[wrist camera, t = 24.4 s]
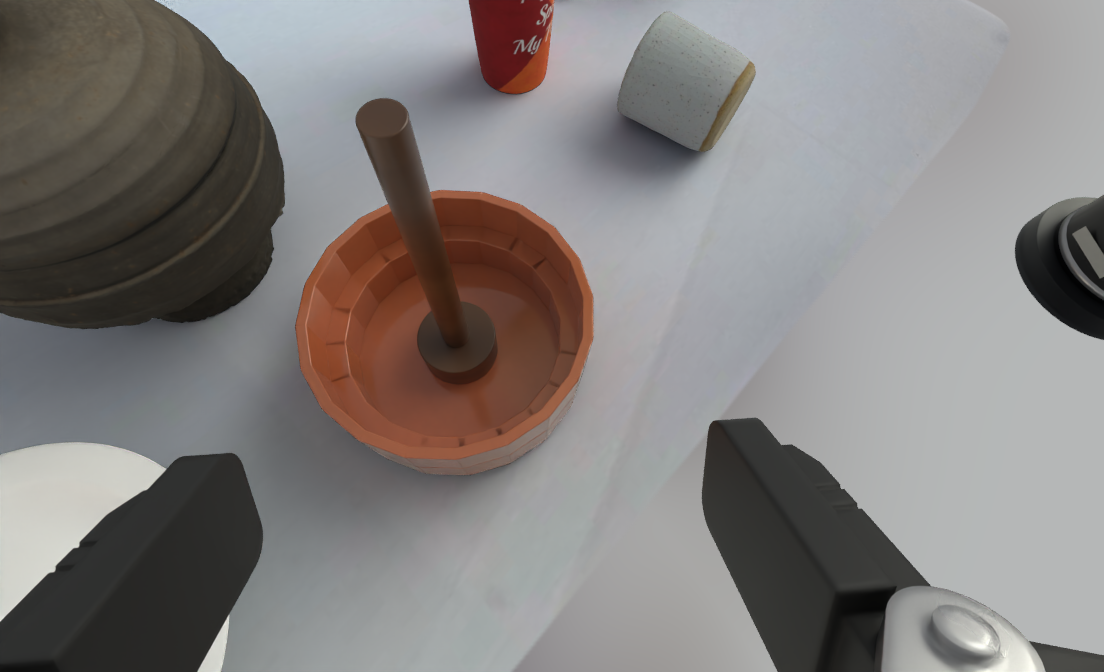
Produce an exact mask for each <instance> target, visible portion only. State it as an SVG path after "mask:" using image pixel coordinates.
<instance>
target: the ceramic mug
mask: <svg viewBox="0 0 1104 672" xmlns="http://www.w3.org/2000/svg"><path fill="white" fill-rule="evenodd" d="M755 73H756V71H755V66H754V64H753V63H752V62H751V61H750V60H749V59H748V58H747V57H746V56H744V55H743V54H742V53H741V52H739V51H738V50H736V49H735V48H733V47H731V46H729V45H727V44H725V43H723V42H722V41H720V40H718V39H716V38H714V37H712V36H711V35H709V34H707V33H706V32H704V31H702V30H701V29H699V28H698V27H696V26H694V25H693V24H691V23H689V22H687V21H686V20H684V19H682V18H681V17H679V16H677V15H675V14H674V13H672V12H664V13H662V14H661V15H660V16H659V17H658V18H657V19H656V20H655V21H654V22H653V24H652V25H651V26H650V28H649V29H648V31H647V32H646V33H645V35H644V36H643V38H642V40H641V41H640V43H639V45H638V46H637V48H636V50H635V52H634V55H633V58H632V60H631V62H630V63H629V66H628V68H627V70H626V73H625V76H624V79H623V82H622V85H621V89H620V92H619V97H618V103H617V107H618V111H619V112H620V113H621V114H622V115H624V116H626V117H628V118H630V119H632V120H634V121H636V122H638V123H640V124H642V125H644V126H646V127H648V128H650V129H652V130H654V131H656V132H658V133H660V134H662V135H664V136H666V137H668V138H670V139H671V140H673V141H675V142H677V143H679V144H681V145H683V146H685V147H687V148H690V149H693V150H696V151H701V152H704V151H708V150H710V149H711V148H712V147H713V146H714V145H715V144H716V142H717V141H718V139H719V138H720V136H721V135H722V133H723V132H724V130H725V129H726V127H727V126H728V124H729V122H730V121H731V119H732V117H733V116H734V114H735V112H736V111H737V109H738V107H739V105H740V104H741V102H742V100H743V99H744V97H745V95H746V93H747V91H748V90H749V87H750V85H751V83H752V81H753V79H754V77H755Z"/></svg>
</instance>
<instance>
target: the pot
mask: <svg viewBox="0 0 1104 672" xmlns="http://www.w3.org/2000/svg"><path fill="white" fill-rule="evenodd" d="M284 182H285V181H284V170H283V162H282V158H281V156H280V152H279V149H278V143H277V139H276V135H275V132H274V129H273V127H272V125H271V122H270V120H269V118H268V117H267V115H266V114H265V112H264V110H263V109H262V107H261V104H260V101H259V98H258V96H257V94H256V92H255V91H254V89H253V87H252V85H251V84H250V83H249V82H248V81H247V79H246V78H245V77H244V76H243V75H242V74H241V73H240V72H239V71H237V70H236V68H235V67H234V66H233V65H232V64H231V63H229V62H228V61H226V60H225V59H224V57H223V56H222V54H221V53H220V51H219V50H218V49H217V47H216V46H215V45H214V44H213V42H212V41H211V40H210V39H209V38H208V37H207V36H206V35H205V34H204V33H202V32H201V31H200V30H199V29H198V28H197V27H195V26H194V25H193V24H191V23H190V22H189V21H187V20H186V19H185V18H183V17H182V16H180V15H179V14H177V13H175V12H174V11H172V10H170V9H169V8H167V7H165V6H164V5H162V4H160V3H158V2H157V1H155V0H0V313H3V314H5V315H8V316H11V317H15V318H20V319H24V320H29V321H34V322H40V323H44V324H49V325H54V326H60V327H67V328H80V329H98V328H105V327H106V328H108V327H114V326H124V325H136V324H140V323H143V322H147V321H149V320H150V319H152V318H157V319H162V320H165V321H171V322H181V323H183V322H186V321H187V322H193V321H199V320H201V319H206V318H207V317H210V316H214V315H216V314H218V313H221V312H223V311H225V310H227V309H228V308H229V307H230V306H233V305H236V304H237V303H238V302H240V301H241V300H242V299H244V298H245V297H247V296H248V295H249V294H250V292H252V291H253V290H254V288H255V287H256V286H257V285H258V284H259V283H260V281H261V280H262V279H263V277H264V275H265V274H266V273H267V270H268V268H269V266H270V263H271V262H272V258H271V255H272V252H273V250H274V248H273V242H272V234H271V230H270V229H271V227H272V226H273V224H274V223H275V222H276V219H277V218H278V217H279V216H281V215H282V214H283V211H282V208H283V207H284V204H285V197H284V195H285V193H284Z"/></svg>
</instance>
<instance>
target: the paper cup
mask: <svg viewBox="0 0 1104 672" xmlns="http://www.w3.org/2000/svg"><path fill="white" fill-rule="evenodd" d="M469 5H470V11H471V17H472V23H473V29H474V35H475V40H476V46H477V52H478V57H479V62H480V67H481V71H482V75H483V77H484V79H485V81H486V82H487V83H488V84H489V85H490V86H491V87H493V88H494V89H496V90H498V91H501V92H504V93H510V94H519V93H525V92H528V91H530V90H533V89H534V88H536V87H537V86H538V85H540V84H541V82H542V81H543V79H544V77H545V74H546V69H547V62H548V55H549V46H550V37H551V28H552V18H553V9H554V0H469Z"/></svg>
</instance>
